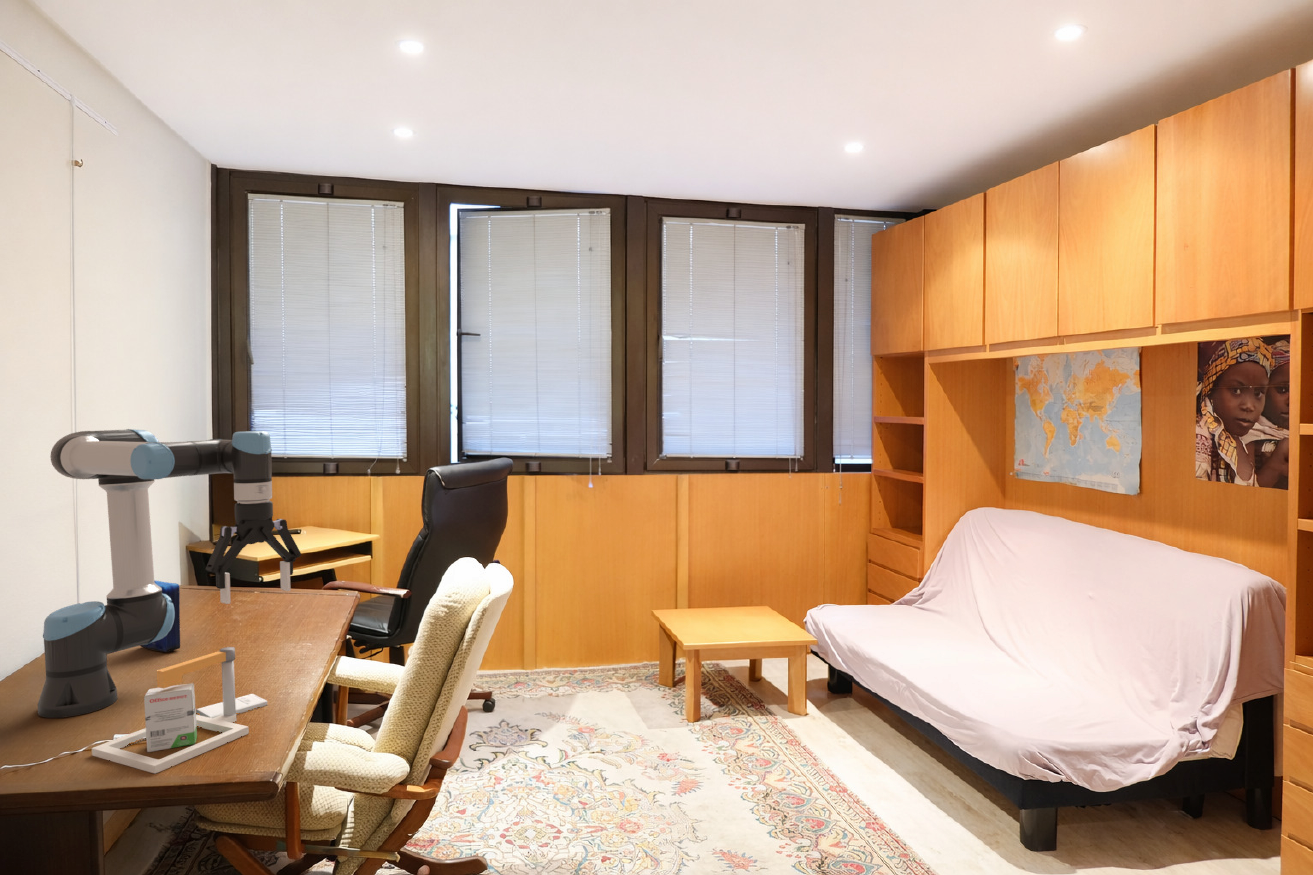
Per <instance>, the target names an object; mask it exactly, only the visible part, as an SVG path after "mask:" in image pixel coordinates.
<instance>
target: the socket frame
mask: <svg viewBox="0 0 1313 875" xmlns="http://www.w3.org/2000/svg"><path fill="white" fill-rule="evenodd" d="M220 664H221V680H222V682H221V684H222V702H223V714H222V715H220V716H217V717H215V718H209V717H205V716H201V715H198V714H196V726H199V727H198V728H200V727H202V728H201V729H205V730H209V731H213V732H217V731H219V732H218V733H220V734H217V735H215V736H213V737H209V738H208V739H206V740H203V741H200V742H198V743H195V744H192V745H190V746H188V747H186V748H184V749H182V750H181V749H180V750H179V751H177V752H173V753H171V754H169V755H166V756H164V757H162V758H159V759H157V758H154V757H149V756H146V755H142V754H139V753H135V752H132V751H128V750H125V749H123V748H125V746H126V747H128V746H129V745H128V744H129V743H131V742H135V741H136V740H139V739H141V738H143V737H146V727H144V728H142V729H140V730H137V731H134V732H131V733H128V734H126V735H124V736H120V737H117V738H116V739H112V740H110V741H107V742H105V743H102V744H99V745H96V746H94V747H91V756H93V757H96V758H99V759H103V760H105V761H106V760H107V761H109V760H110V761H109V762H113V763H117V764H120V765H123V766H124V765H125V766H127V767H131V768H133V769H137V770H141V771H144V772H147V773H150V774H151V773H152V774H154V775H155V774H157V773H160V772H163V771H165V770H167V769H169V768H172V767H174V766H176V765H179V764H181V763H184V762H185V761H188V760H190V759H193V758H195V757H197V756H200V755H202V754H204V753H207V752H209V751H211V750H213V749H216V748H219V747H220V746H223V745H226V744H228V743H231V742H232V741H234V740H236V739H239V738H242V737H244V736H246V735H248V734H249V732H250V731H249V730H250V728H249V726H247V725H243V724H239V723H236V722H237V714H236V705H235V698H236V686H235V685H236V683H235V681H236V680H235V679H236V678H235V660H232V661H228V662H221V663H220ZM235 721H236V722H235ZM233 722H234V723H233ZM221 732H222V733H221ZM241 736H242V737H241ZM227 742H228V743H227ZM127 745H128V746H127ZM120 748H121V749H120ZM171 766H172V767H171Z"/></svg>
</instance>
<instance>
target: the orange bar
mask: <svg viewBox="0 0 1313 875" xmlns="http://www.w3.org/2000/svg"><path fill="white" fill-rule="evenodd" d="M232 660H234V661H235V660H236V648H235V647H234V646H228V647H223V648H220V649H219V650H217V651H215V652H212V653H208V654H205V655H201V656H199V657H195V658H192V659H189V660H185V661H183V662H180V663H176V664H172V665H169V666H167V667H163V668H159V669H156V681H157V685H156V686H157V687H156V688H163V689H164V688H167V687H170V686H175V685H180V684H183V682H184V681H183V680H184V679H183V676H184V675H188V674H191V673H192V672H196V671H199V670H202V669H206V668H208V667H212V666H214V665H217V664H222V663H221V662H228V661H232Z"/></svg>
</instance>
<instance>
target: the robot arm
mask: <svg viewBox="0 0 1313 875" xmlns="http://www.w3.org/2000/svg"><path fill="white" fill-rule="evenodd" d="M231 438H232V439H222V438H215V439H214V438H213V439H212V438H211V439H206V440H191V441H187V440H186V441H170V442H168V441H165V442H164V441H163V442H162V441H161V442H160V440H159V439H158V438H157V437H156V436H155V435H154V434H153V433H152V432H151V431H148V430H145V429H135V428H133V429H131V428H126V429H112V430H111V429H110V430H109V429H108V430H107V429H106V430H105V429H104V430H83V431H75V432H72V433H69V434H66V435H65V436H63V437H61V438H59V439H58V440H57V441H56V442H55V444H54V445H53V446H52V449H51V450H50V462H51V465H52V466H53V468H54V470H56V471H57V473H59V474H61V475H62V476H65V477H67V478H71V479H76V480H96V479H97V480H98V487H100V488H101V489H102V490H104V491H105V492H106V499H107V500H106V501H107V514H108V515H107V518H108V528H109V544H110V545H109V547H110V556H111V557H110V559H111V572H112V587H113V588H112V589H111V590H110V591H109V592H108V594H106V604H104V603H103V602H101V601H98V600H97V601H86V602H82V603H76V604H71V605H68V606H64V607H61V608H59V609H57V610H54V611H53V612H51V613H50V614H49V615H48V616H46V618H45V619H44V622H43V633H42V639H43V648H44V649H43V650H44V663H45V664H44V665H45V666H44V667H45V680H44V684H43V687H42V690H41V693H40V696H39V699H38V702H37V714H38V716H39V717H42V718H48V719H57V718H58V719H60V718H67V717H68V718H69V717H74V716H79V715H84V714H85V715H86V714H88V713H93V712H95V711H99V710H101V709H104V708H106V707H109V706H111V705H113V704H114V703H116V701H118V689H117V686H116V684H115V682H114V680H113V679H112V676H111V674H110V671H109V670H108V661H107V660H108V657H107V656H108V655H111V654H113V653H117V652H120V651H125V650H129V649H132V648H136V647H141V646H140V645H147V644H150V643H151V642H154V641H157V640H160V639H162V638H164V637H165V636H166V635H167V634H168V632H169V631H170V630H171V628H172V625H173V622H174V616H175V611H174V605H173V603H171V601H172V600H171V598H170V597H169V596H168V595H166V594H163V593H162V588H161V587H159V586H158V585H157V584H155V582H154V580H155V573H154V572H155V571H154V558H153V545H152V544H153V542H152V529H151V513H150V499H149V488H150V487H151V486H152V485H153V484H154V483H155V480H163V479H169V478H177V477H178V478H179V477H192V476H201V475H202V476H203V475H204V476H205V475H215V474H233V499H234V501H236V503H235V504H234V519H235V520H234V521H235V524H234V526H226V525H222V526H220V529H219V530H220V531H219V537H218V539H217V542H216V544H215V546H214V549H213V551H212V553H211V555H210V557H209V560H208V562H207V564H206V567H205V570H206V572H209V573H213V574H215V587H216V589H218V590H219V591H220V592H219V594H220V595H219V596H220V600H219V601H220V603H221V604H226V605H228V604H229V605H230V604H231V576H230V575H231V574H230V572H227V571H228V569H229V568H230V567H231V565H232V564H233V562H234V561H235V560H236V558H237V557H238V556H239V554H240V553H241V552H242V550H243V549H244V548H245V547H247V545H254V544H256V543H259V544H261V543H265V542H266V543H267V544H268V546H269V547H270V548H272V550H273V551H275V552H276V553H277V554H278V555H279V557H280V558H282V561H279V570H280V571H279V572H280V575H279V576H280V580H279V581H280V591H285V592H290V591H292V590H291V576H292V575H293V574H294V562H296V561H297V560H296V559H297V558H300V557H301V556H302V553H301V551H300V549H299V547H298V545H297V543H296V541H295V540H294V538H293V536H292V534H291V532H290V530H289V528H288V521H287V519H284V518H277V519H276V520H273V516H274V505H273V504H274V503H273V501H271V499H273V481H272V480H273V479H272V477H273V472H272V466H273V465H272V463H273V462H272V459H273V458H272V452H273V449H272V443H271V435H270V434H269V432H267V431H265V430H264V431H263V430H260V431H254V430H252V431H249V430H247V431H236V432H233V434H232V437H231ZM273 530H276V531H277V533H278V535H279V537H280V539H281V541H282V543H283V544H284V546H283V545H282V544H281V542H280V541H278V539H277V537H276V536H275V535H274V534H273V533H272V531H273ZM234 534H236V537H235V538H234V539H233V541H232V544H231V546H230V547H228V546H229V544H230V542H231V539H232V537H233V536H234Z"/></svg>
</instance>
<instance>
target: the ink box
mask: <svg viewBox="0 0 1313 875" xmlns="http://www.w3.org/2000/svg"><path fill="white" fill-rule="evenodd" d="M143 700H144V702H143V703H144V720H145V721H144V722H145V728H146V739H145V740H146V752H147V753H151V752H159V751H161V750H162V751H163V750H169V749H174V748H180V747H184V746H193V745H195V744H196V742H197V738H198V729H197V728H198V727H197V726H196V715H197V714H196V709H197V708H196V696H195V683H194V682H191V683H185V684H183V683H182V684H176V685H173V686H170V687H167V688H164V689H163V688H159V687H155V688H149V689H148V690H147V692H145V695H144V697H143Z"/></svg>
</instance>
